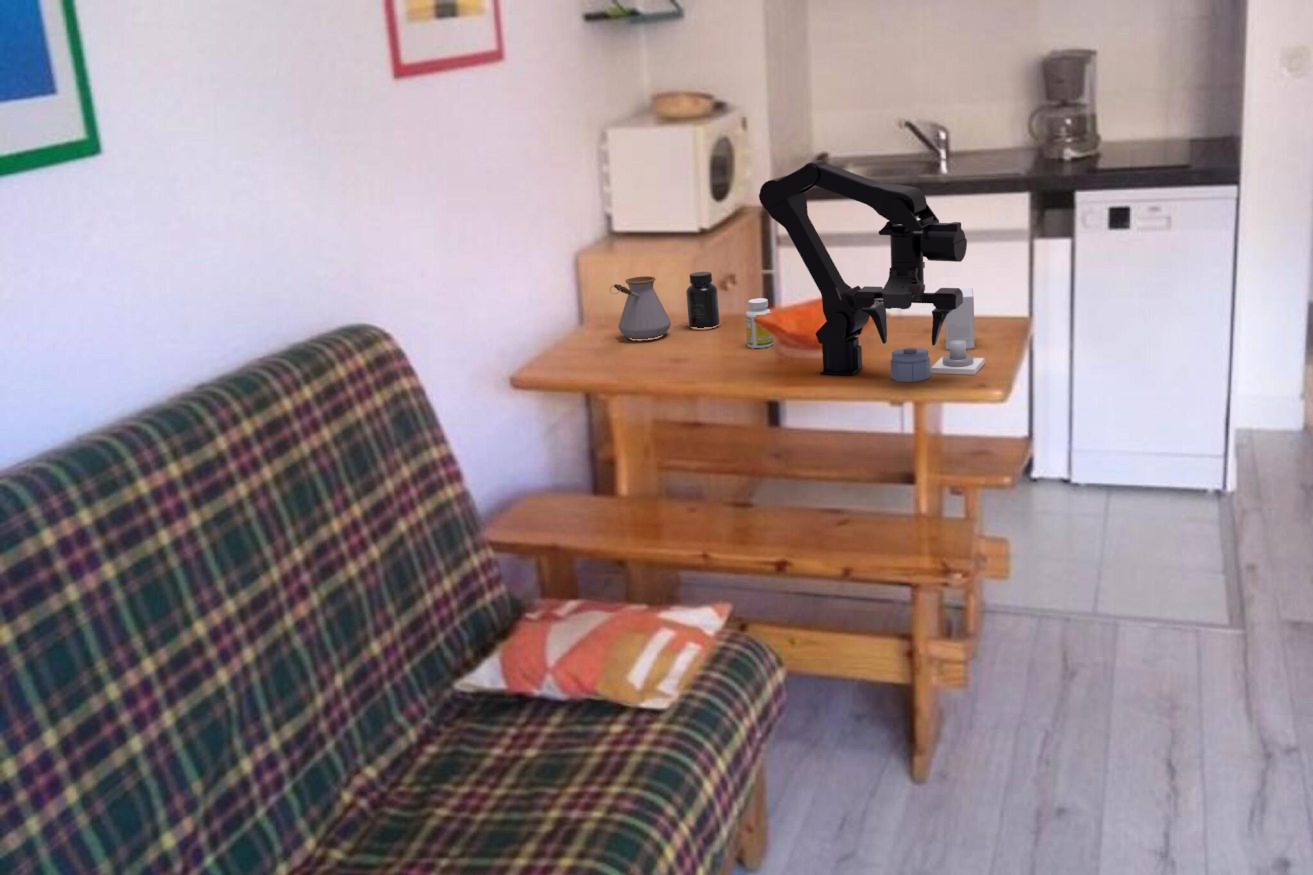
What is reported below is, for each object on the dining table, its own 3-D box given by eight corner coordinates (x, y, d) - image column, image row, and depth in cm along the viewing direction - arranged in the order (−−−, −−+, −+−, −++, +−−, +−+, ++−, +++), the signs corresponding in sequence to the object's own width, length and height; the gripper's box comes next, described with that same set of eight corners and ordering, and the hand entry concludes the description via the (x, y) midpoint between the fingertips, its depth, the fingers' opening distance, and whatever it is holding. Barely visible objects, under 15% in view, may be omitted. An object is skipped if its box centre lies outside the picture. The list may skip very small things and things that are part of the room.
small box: (974, 349, 267) (973, 296, 264) (945, 350, 268) (944, 297, 265) (973, 339, 274) (973, 287, 271) (945, 340, 275) (944, 288, 272)
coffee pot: (630, 330, 307) (624, 264, 302) (679, 330, 303) (673, 263, 298) (594, 355, 288) (587, 285, 283) (646, 355, 284) (639, 284, 279)
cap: (888, 380, 251) (887, 353, 249) (898, 371, 256) (897, 344, 255) (923, 382, 248) (922, 354, 246) (933, 372, 253) (932, 345, 252)
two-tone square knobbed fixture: (931, 373, 253) (930, 346, 252) (942, 361, 260) (941, 336, 259) (974, 374, 250) (973, 348, 248) (984, 363, 256) (984, 337, 255)
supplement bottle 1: (704, 322, 308) (700, 269, 305) (726, 325, 304) (722, 272, 300) (682, 328, 304) (678, 275, 300) (705, 332, 299) (701, 278, 296)
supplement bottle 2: (743, 348, 283) (740, 302, 280) (754, 342, 287) (751, 297, 284) (766, 349, 280) (764, 303, 277) (777, 343, 285) (775, 297, 282)
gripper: (842, 268, 243) (846, 353, 248) (946, 269, 235) (948, 357, 239) (862, 255, 252) (865, 338, 257) (963, 256, 244) (964, 341, 249)
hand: (909, 344), depth 250 cm, fingers open, 9 cm apart
